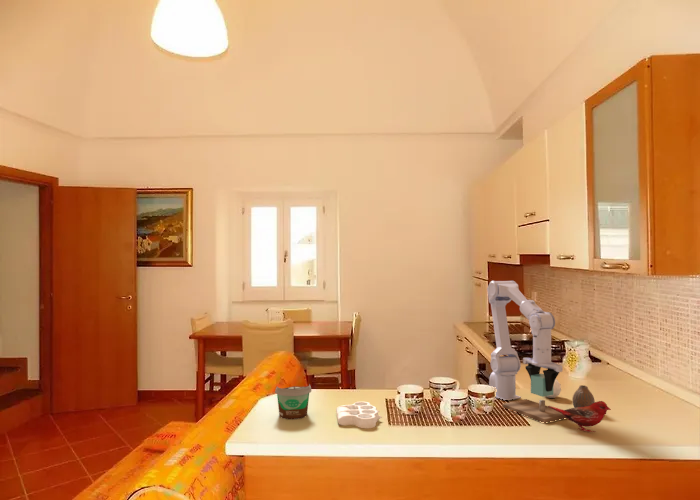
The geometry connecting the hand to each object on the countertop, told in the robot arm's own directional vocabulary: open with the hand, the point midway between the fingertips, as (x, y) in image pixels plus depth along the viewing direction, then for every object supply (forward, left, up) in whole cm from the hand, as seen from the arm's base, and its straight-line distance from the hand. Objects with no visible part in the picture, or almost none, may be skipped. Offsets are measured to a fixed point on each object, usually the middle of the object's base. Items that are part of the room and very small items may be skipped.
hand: (542, 388), depth 165 cm
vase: (+4, +16, -9) cm, 19 cm away
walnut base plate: (-3, 0, -9) cm, 9 cm away
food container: (-38, -74, -9) cm, 84 cm away
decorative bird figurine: (+15, -2, -9) cm, 18 cm away
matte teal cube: (0, 0, -2) cm, 2 cm away
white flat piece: (-27, -56, -10) cm, 63 cm away
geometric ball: (-13, +20, -9) cm, 26 cm away
